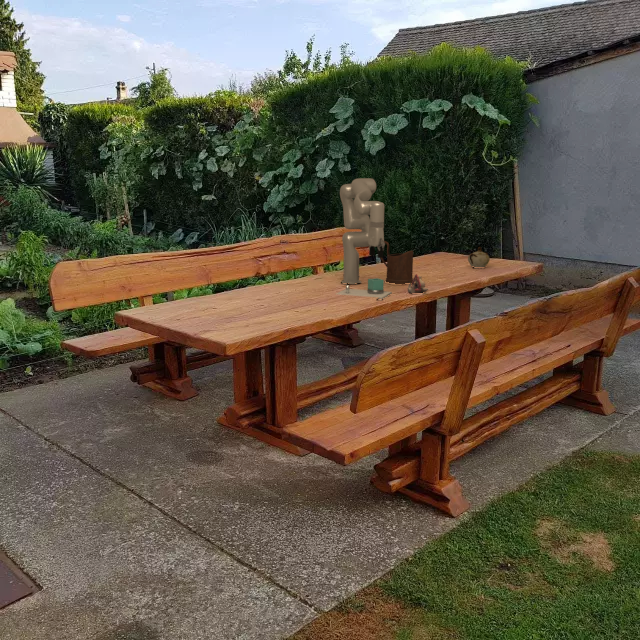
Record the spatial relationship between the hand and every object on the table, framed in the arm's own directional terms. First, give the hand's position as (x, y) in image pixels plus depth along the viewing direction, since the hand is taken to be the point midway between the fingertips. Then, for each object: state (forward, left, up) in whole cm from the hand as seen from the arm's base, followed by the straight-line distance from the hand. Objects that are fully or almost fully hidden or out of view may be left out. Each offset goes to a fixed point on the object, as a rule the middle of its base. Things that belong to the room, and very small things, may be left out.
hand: (376, 256), depth 371 cm
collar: (0, 0, -18) cm, 18 cm away
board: (+3, -6, -22) cm, 23 cm away
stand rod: (+7, -14, -20) cm, 26 cm away
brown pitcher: (-48, -2, -22) cm, 53 cm away
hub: (0, 0, -20) cm, 20 cm away
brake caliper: (-16, +20, -22) cm, 34 cm away
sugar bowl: (-129, +36, -22) cm, 136 cm away
